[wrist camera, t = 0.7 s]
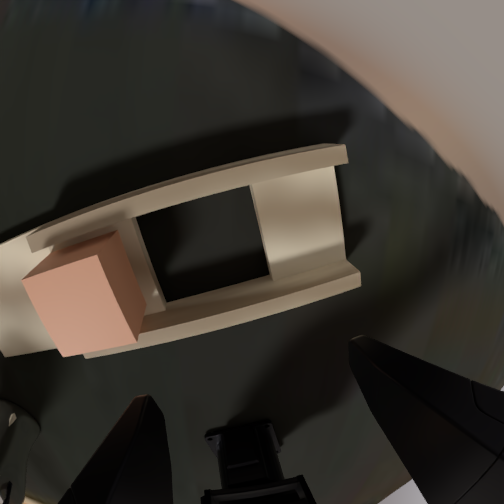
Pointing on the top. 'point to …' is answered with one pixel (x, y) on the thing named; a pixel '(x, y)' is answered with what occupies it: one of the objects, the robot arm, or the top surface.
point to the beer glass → (15, 450)
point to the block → (88, 296)
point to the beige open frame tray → (220, 300)
